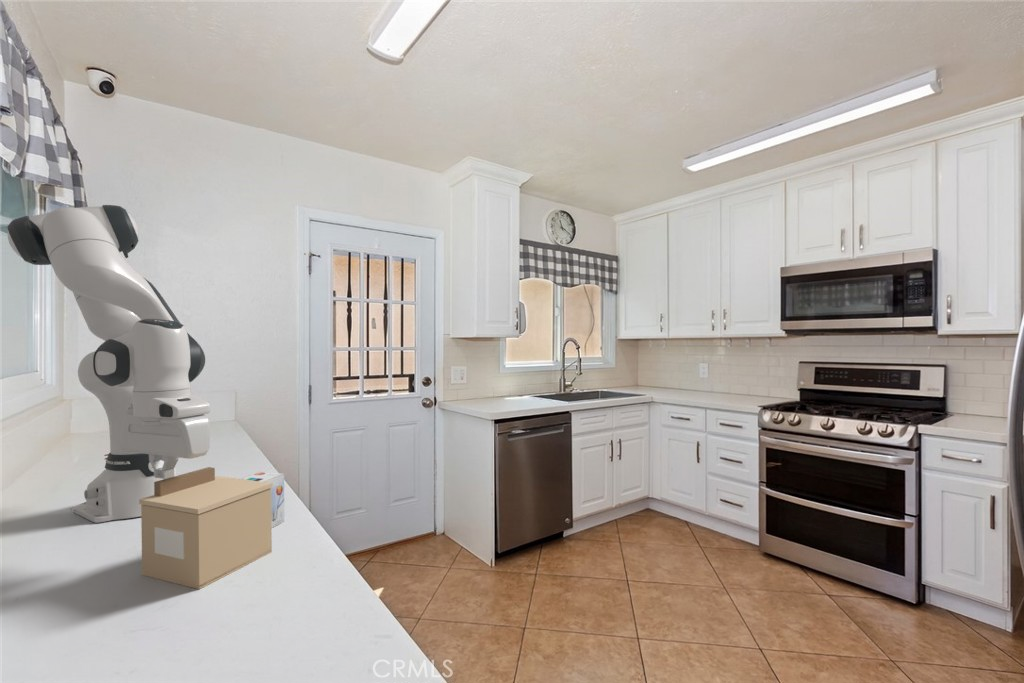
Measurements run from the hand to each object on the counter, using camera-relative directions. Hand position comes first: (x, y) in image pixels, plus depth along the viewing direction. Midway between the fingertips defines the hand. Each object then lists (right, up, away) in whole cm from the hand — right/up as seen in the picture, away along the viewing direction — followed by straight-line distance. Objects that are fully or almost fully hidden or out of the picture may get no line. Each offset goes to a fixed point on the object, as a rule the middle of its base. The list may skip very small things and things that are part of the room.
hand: (164, 477), depth 88 cm
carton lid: (+11, -2, -4) cm, 12 cm away
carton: (+11, -14, -4) cm, 19 cm away
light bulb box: (+11, -14, +11) cm, 21 cm away
